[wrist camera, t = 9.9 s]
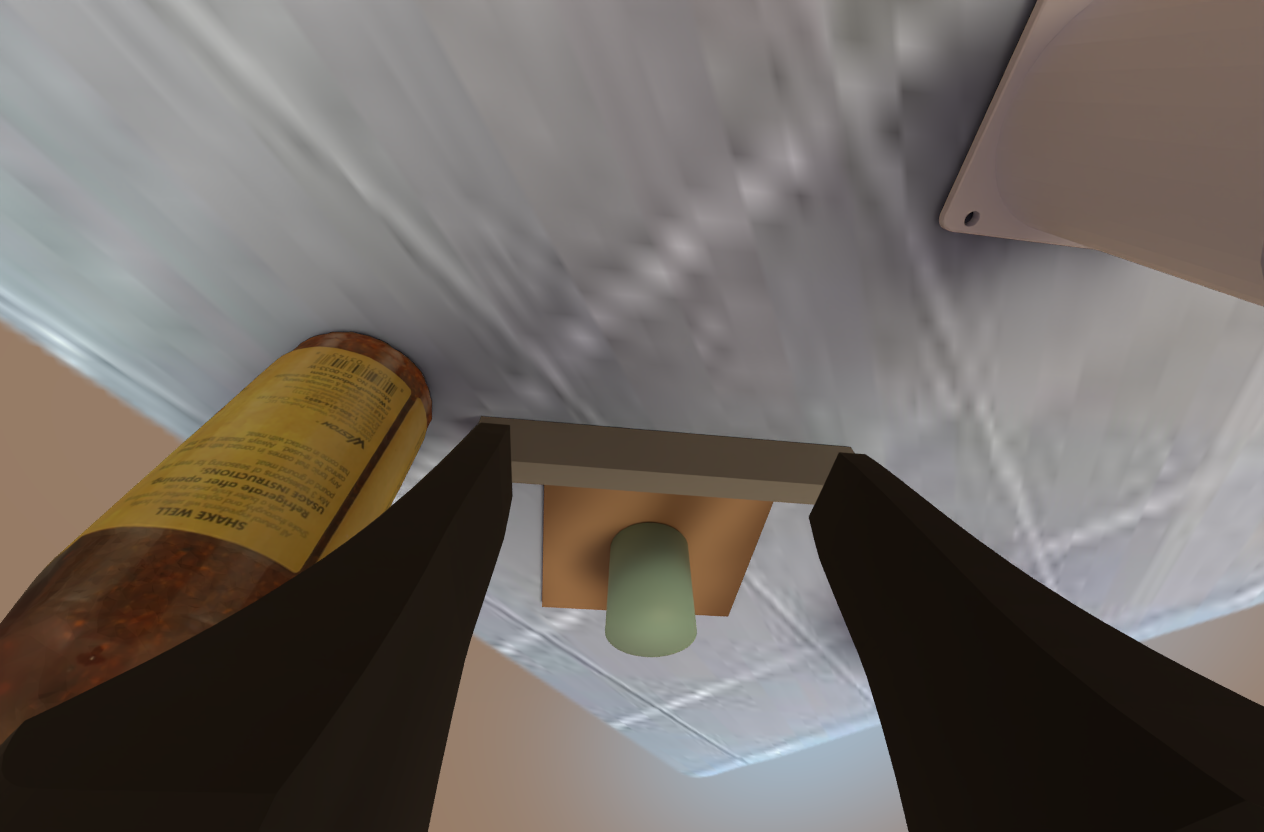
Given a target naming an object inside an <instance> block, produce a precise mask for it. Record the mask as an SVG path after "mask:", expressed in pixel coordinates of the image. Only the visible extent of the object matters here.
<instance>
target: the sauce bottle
mask: <svg viewBox="0 0 1264 832" xmlns="http://www.w3.org/2000/svg"><path fill="white" fill-rule="evenodd" d="M431 419H432V400H431V398H430V393H429V389H428V387H427V384H426V383H425V378H424V377H423V375H422V373H421V371H420V370H419V369H418V368H417V367H416V366H415V364H414V363H413V362H411V361H410V359H409V358H408V357H406V356H404V355H403V354H402V353H401V352H399V351H397V350H395V349H393V348H392V347H391V346H390V345H388V344H387V343H385V342H383V341H381V340H378V339H375V338H372V337H370V336H367V335H362V334H357V333H354V332H331V333H328V334H323V335H317V336H314V337H312V338H309V339H308V340H306V341H304V342H302V343H301V344H300V345H299V346H298V347H296V348H295V349H294V350H293V351H292V352H289V353H287V354H285V355H283V356H281V357H280V358H279V359H277V360H276V361H275V362H274V363H273V364H271V365H270V366H269V367H268V368H267V369H266V370H265V371H263V372H262V373H261V374H260V375H259V376H258V377H257V378H255V379H254V380H253V381H252V382H251V383H250V384H249V385H248V386H247V387H245V388H244V389H243V390H242V391H241V392H240V393H239V394H238V395H237V396H235V397H234V398H233V399H232V400H231V401H230V402H229V403H228V404H227V405H225V406H224V407H223V408H222V409H221V410H220V411H219V412H218V413H217V414H215V415H214V416H213V417H212V418H211V419H210V420H209V421H207V422H206V423H205V424H204V425H203V426H202V427H201V428H199V429H198V430H197V431H196V432H195V433H194V434H193V435H192V436H190V437H189V438H188V439H187V440H186V441H185V442H184V443H182V444H181V445H180V446H179V447H178V448H177V449H176V450H175V451H173V452H172V453H171V454H170V455H169V456H168V457H167V458H166V459H164V460H163V461H162V462H161V463H160V464H159V465H158V466H157V467H156V468H155V469H153V470H152V471H151V472H150V473H149V474H148V475H147V476H146V477H144V478H143V479H142V480H141V481H140V482H139V483H138V484H137V485H135V486H134V487H133V488H132V489H131V490H130V491H129V492H128V493H127V494H125V495H124V496H123V497H122V498H121V499H120V500H119V501H118V502H116V503H115V504H114V505H113V506H112V507H111V508H110V509H109V510H108V511H107V512H106V513H104V514H103V515H102V516H101V517H100V518H99V519H98V520H96V521H95V522H94V523H93V524H92V525H91V526H90V527H89V528H88V529H86V530H85V531H84V532H83V533H82V534H81V535H80V536H79V537H77V538H76V539H75V540H74V541H73V542H72V543H71V544H70V545H69V546H67V547H66V548H65V549H64V550H63V551H62V552H61V553H60V554H59V555H58V556H56V557H55V558H54V559H53V560H52V561H51V562H50V563H49V564H48V565H47V566H46V568H45V569H44V570H43V571H42V572H41V573H40V574H39V575H38V576H37V577H36V579H35V580H34V581H33V582H32V584H31V585H30V586H29V587H28V589H27V590H26V591H25V592H24V594H23V595H22V596H21V598H20V599H19V600H18V601H17V603H16V604H15V605H14V607H13V608H12V609H11V611H10V612H9V613H8V614H7V616H6V617H5V618H4V620H3V621H2V622H1V624H0V745H1V744H2V743H3V742H4V741H5V740H6V739H7V738H8V737H9V736H10V735H11V734H12V733H13V732H14V731H15V730H16V729H17V728H18V727H19V726H20V725H21V724H22V723H23V722H24V721H25V720H27V719H29V718H31V717H33V716H36V715H38V714H40V713H42V712H44V711H46V710H48V709H50V708H53V707H55V706H57V705H59V704H61V703H63V702H65V701H67V700H69V699H71V698H73V697H75V696H77V695H79V694H81V693H83V692H85V691H87V690H89V689H91V688H93V687H95V686H97V685H99V684H101V683H104V682H106V681H108V680H110V679H112V678H114V677H116V676H118V675H120V674H122V673H124V672H126V671H128V670H130V669H132V668H134V667H136V666H138V665H140V664H142V663H144V662H146V661H148V660H150V659H152V658H154V657H156V656H158V655H160V654H161V653H163V652H165V651H167V650H169V649H171V648H173V647H175V646H177V645H178V644H180V643H182V642H184V641H186V640H188V639H190V638H191V637H193V636H195V635H197V634H199V633H201V632H202V631H204V630H206V629H208V628H210V627H212V626H213V625H215V624H217V623H219V622H220V621H222V620H224V619H226V618H227V617H229V616H231V615H233V614H234V613H236V612H238V611H240V610H241V609H243V608H245V607H247V606H248V605H250V604H252V603H253V602H255V601H257V600H258V599H260V598H262V597H263V596H265V595H266V594H268V593H270V592H271V591H273V590H274V589H276V588H277V587H279V586H281V585H282V584H284V583H285V582H287V581H289V580H290V579H292V578H293V577H295V576H296V575H298V574H300V573H301V572H303V571H304V570H306V569H307V568H309V567H310V566H312V565H314V564H315V563H317V562H318V561H320V560H321V559H323V558H324V557H325V556H327V555H328V554H330V553H331V552H332V551H334V550H335V549H337V548H338V547H339V546H341V545H342V544H344V543H345V542H346V541H348V540H349V539H350V538H352V537H353V536H354V535H356V534H357V533H358V532H360V531H361V530H362V529H364V528H365V527H366V526H367V525H369V524H370V523H371V522H373V521H374V520H375V519H376V518H378V517H379V516H380V515H381V514H382V513H383V512H385V511H386V510H387V509H388V508H389V507H390V506H391V504H392V502H393V500H394V498H395V496H396V494H397V493H398V491H399V489H400V487H401V485H402V483H403V481H404V479H405V477H406V475H407V473H408V471H409V469H410V467H411V465H412V463H413V461H414V459H415V457H416V455H417V453H418V451H419V448H420V446H421V444H422V442H423V440H424V437H425V434H426V429H427V427H428V425H429V423H430V422H431Z"/></svg>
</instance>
